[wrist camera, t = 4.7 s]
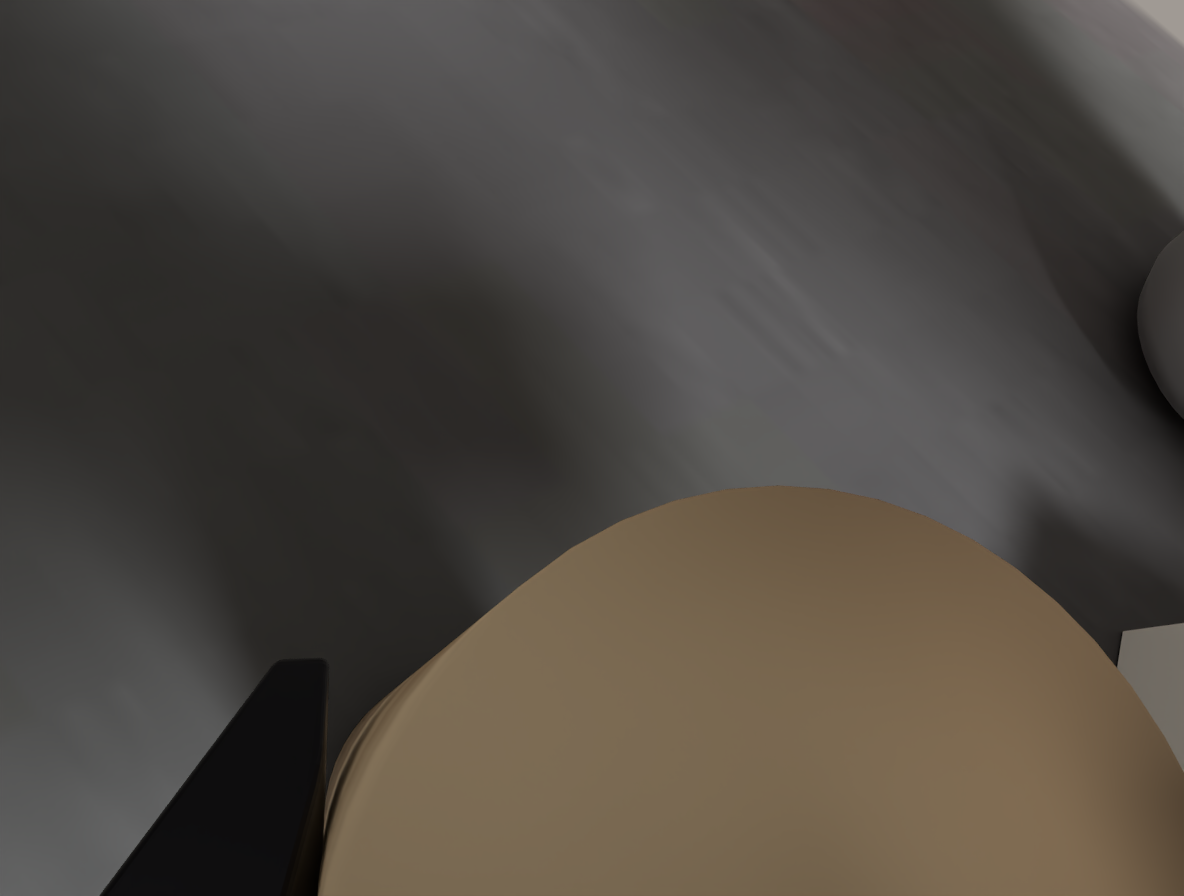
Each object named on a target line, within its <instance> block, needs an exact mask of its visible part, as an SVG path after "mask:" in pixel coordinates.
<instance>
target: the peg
mask: <svg viewBox="0 0 1184 896" xmlns="http://www.w3.org/2000/svg"><path fill="white" fill-rule="evenodd" d="M317 896H1184V772H1183V770H1182V768H1181V766H1180V764H1179V762H1178V760H1177V759H1176V757H1175V755H1174V753H1173V751H1172V749H1171V747H1170V746H1169V744H1168V742H1167V740H1166V738H1165V736H1164V735H1163V733H1162V732H1161V730H1160V729H1159V727H1158V726H1157V724H1156V723H1155V721H1154V720H1153V718H1152V716H1151V715H1150V713H1149V712H1148V710H1147V709H1146V707H1145V706H1144V704H1143V703H1142V701H1141V700H1140V698H1139V697H1138V695H1137V694H1136V692H1135V691H1134V689H1133V688H1132V686H1131V685H1130V684H1129V682H1128V681H1127V680H1126V679H1125V677H1124V676H1123V675H1122V674H1121V672H1120V671H1119V670H1118V669H1117V667H1116V666H1115V665H1114V664H1113V663H1112V661H1111V660H1110V659H1109V658H1108V656H1107V655H1106V654H1105V653H1104V651H1103V650H1102V649H1101V648H1100V646H1099V645H1098V644H1097V643H1096V641H1095V640H1094V639H1093V638H1092V637H1091V636H1090V635H1089V634H1088V633H1087V632H1086V631H1085V630H1084V629H1083V628H1082V627H1081V626H1080V625H1079V624H1078V623H1077V622H1076V621H1075V620H1074V619H1073V618H1072V617H1071V616H1070V615H1069V614H1068V613H1067V612H1066V611H1065V610H1064V609H1063V608H1062V607H1061V606H1060V605H1059V604H1058V603H1057V602H1056V601H1055V600H1054V599H1053V598H1051V597H1050V596H1049V595H1048V594H1047V593H1045V592H1044V591H1043V590H1042V589H1041V588H1039V587H1038V586H1037V585H1036V584H1035V583H1033V582H1032V581H1031V580H1030V579H1028V578H1027V577H1026V576H1025V575H1024V574H1022V573H1021V572H1020V571H1019V570H1018V569H1016V568H1015V567H1013V566H1012V565H1010V564H1009V563H1007V562H1006V561H1004V560H1003V559H1001V558H1000V557H998V556H997V555H995V554H994V553H992V552H991V551H989V550H988V549H986V548H985V547H983V546H982V545H980V544H978V543H977V542H975V541H974V540H972V539H970V538H968V537H966V536H964V535H962V534H960V533H958V532H956V531H954V530H952V529H950V528H948V527H946V526H944V525H942V524H940V523H938V522H936V521H934V520H932V519H930V518H928V517H926V516H924V515H921V514H918V513H915V512H912V511H909V510H907V509H904V508H901V507H898V506H895V505H892V504H890V503H887V502H884V501H881V500H878V499H873V498H869V497H864V496H859V495H854V494H850V493H845V492H840V491H835V490H831V489H820V488H806V487H792V486H765V487H751V488H737V489H725V490H721V491H716V492H712V493H707V494H702V495H698V496H693V497H689V498H684V499H680V500H675V501H672V502H669V503H667V504H664V505H661V506H659V507H656V508H653V509H651V510H648V511H645V512H643V513H640V514H637V515H635V516H632V517H629V518H627V519H624V520H622V521H620V522H618V523H616V524H614V525H612V526H611V527H609V528H607V529H605V530H603V531H601V532H600V533H598V534H596V535H594V536H592V537H591V538H589V539H587V540H585V541H583V542H581V543H580V544H578V545H576V546H574V547H572V548H570V549H569V550H568V551H566V552H565V553H564V554H562V555H561V556H560V557H558V558H557V559H556V560H554V561H553V562H552V563H550V564H549V565H548V566H546V567H545V568H544V569H542V570H541V571H540V572H538V573H537V574H535V575H534V576H533V577H531V578H530V579H529V580H527V581H526V582H525V583H523V584H522V585H521V586H519V587H518V588H517V589H516V590H515V591H513V592H512V593H511V594H510V595H508V596H507V597H506V598H505V599H504V600H502V601H501V602H500V603H499V604H498V605H496V606H495V607H494V608H493V609H491V610H490V611H489V612H488V613H487V614H485V615H484V616H483V617H482V618H480V619H479V620H478V621H477V622H476V623H474V624H473V625H472V626H471V627H470V628H468V629H467V630H466V631H465V632H463V633H462V634H461V635H460V636H459V637H457V638H456V639H455V640H454V641H452V642H451V643H450V644H449V645H448V646H446V647H445V648H444V649H443V650H442V651H440V652H439V653H438V654H437V655H435V656H434V657H433V658H432V659H431V660H429V661H428V662H427V663H426V664H424V665H423V666H422V667H421V668H420V669H418V670H417V671H416V672H415V673H414V674H412V675H411V676H410V677H409V678H407V679H406V680H405V681H404V682H403V683H401V684H400V685H399V686H398V687H396V688H395V689H394V690H393V691H392V692H390V693H389V694H388V695H387V696H386V697H384V698H383V699H382V700H381V701H379V702H378V703H377V704H376V705H375V706H374V707H373V708H372V709H371V710H370V711H369V712H368V713H367V714H366V715H365V716H364V717H363V718H362V719H361V721H360V722H359V723H358V724H357V726H356V727H355V728H354V729H353V731H352V732H351V734H350V736H349V737H348V739H347V740H346V742H345V743H344V745H343V747H342V749H341V751H340V753H339V756H338V758H337V760H336V762H335V765H334V768H333V771H332V774H331V777H330V780H329V785H328V790H327V795H326V801H325V813H324V839H323V851H322V857H321V863H320V871H319V883H318V894H317Z"/></svg>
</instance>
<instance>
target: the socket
mask: <svg viewBox="0 0 1184 896" xmlns="http://www.w3.org/2000/svg"><path fill="white" fill-rule="evenodd" d="M1117 669H1118V670H1119V671H1120V672H1121V674H1122V675H1123V676H1124V677H1125V679H1126V680H1127V681H1128V682H1129V684H1130V685H1131V686H1132V688H1133V689H1134V691H1135V692H1136V694H1137V695H1138V697H1139V698H1140V700H1141V701H1142V703H1143V704H1144V706H1145V707H1146V709H1147V710H1148V712H1149V713H1150V715H1151V716H1152V718H1153V720H1154V721H1155V723H1156V724H1157V726H1158V727H1159V729H1160V730H1161V732H1162V733H1163V735H1164V736H1165V738H1166V740H1167V742H1168V744H1169V746H1170V747H1171V749H1172V751H1173V753H1174V755H1175V757H1176V759H1177V760H1178V762H1179V764H1180V766H1181V768H1182V770H1183V772H1184V623H1180V624H1173V625H1165V626H1158V627H1151V628H1143V629H1136V630H1128V631H1123V634H1122V640H1121V646H1120V652H1119V659H1118V665H1117Z"/></svg>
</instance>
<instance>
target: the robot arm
mask: <svg viewBox="0 0 1184 896" xmlns="http://www.w3.org/2000/svg"><path fill="white" fill-rule="evenodd" d="M328 686H329V664H328V662H327V661H326V660H325V659H323V658H308V659H284V660H280V661H278V662H276V663H275V664H273V666H272V667H271V668H270V669H269V671H268V672H267V673H266V675H265V676H264V677H263V679H262V680H261V681H260V683H259V684H258V685H257V687H256V688H255V689H254V691H253V692H252V693H251V695H250V696H249V697H248V699H247V700H246V701H245V703H244V704H243V705H242V706H241V708H240V709H239V710H238V712H237V713H236V714H235V716H234V717H233V718H232V720H231V721H230V722H229V724H228V725H227V726H226V728H225V729H224V730H223V732H222V733H221V734H220V736H219V737H218V738H217V740H216V741H215V742H214V744H213V745H212V746H211V748H210V749H209V750H208V752H207V753H206V754H205V756H204V757H203V758H202V760H201V761H200V762H199V764H198V765H197V766H196V768H195V769H194V770H193V772H192V773H191V774H190V776H189V777H188V778H187V780H186V781H185V782H184V784H183V785H182V786H181V788H180V789H179V790H178V792H177V793H176V794H175V796H174V797H173V798H172V800H171V801H170V802H169V804H168V805H167V806H166V808H165V809H164V810H163V812H162V813H161V814H160V816H159V817H158V818H157V820H156V821H155V822H154V824H153V825H152V826H151V828H150V829H149V830H148V832H147V833H146V834H145V836H144V837H143V838H142V840H141V841H140V842H139V844H138V845H137V846H136V848H135V849H134V850H133V852H132V853H131V854H130V856H129V857H128V858H127V860H126V861H125V862H124V864H123V865H122V866H121V868H120V869H119V870H118V872H117V873H116V874H115V876H114V877H113V878H112V880H111V881H110V882H109V884H108V885H107V886H106V888H105V889H104V890H103V892H102V893H101V894H100V896H317V894H318V883H319V871H320V863H321V857H322V851H323V839H324V811H325V782H326V754H327V721H328Z"/></svg>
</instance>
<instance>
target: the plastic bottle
mask: <svg viewBox="0 0 1184 896" xmlns="http://www.w3.org/2000/svg"><path fill="white" fill-rule="evenodd" d="M1137 323H1138V334H1139V339H1140V343H1141V347H1142V352H1143V354H1144V357H1145V359H1146V362H1147V365H1148V367H1149V370H1150V372H1151V374H1152V376H1153V378H1154V380H1155V381H1156V383H1157V385H1158V387H1159V389H1160V391H1161V392H1162V393H1163V395H1164V396H1165V397H1166V399H1167V400H1168V402H1169V403H1170V404H1171V406H1172V407H1173V409H1174V410H1175V411H1176V412H1177V413H1178V414H1179V415H1180V416H1181V417H1182V418H1183V419H1184V231H1183V232H1181V233H1180V234H1179V235H1178V236H1177V237H1175V238H1174V239H1173V240H1172V241H1171V242H1169V243H1168V244H1167V245H1166V246H1165V247H1164V249H1163V250H1162V251H1161V253H1160V254H1159V255H1158V257H1157V258H1156V260H1155V263H1154V265H1153V267H1152V269H1151V271H1150V273H1149V275H1148V277H1147V279H1146V282H1145V284H1144V286H1143V289H1142V291H1141V294H1140V297H1139V302H1138V310H1137Z"/></svg>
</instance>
